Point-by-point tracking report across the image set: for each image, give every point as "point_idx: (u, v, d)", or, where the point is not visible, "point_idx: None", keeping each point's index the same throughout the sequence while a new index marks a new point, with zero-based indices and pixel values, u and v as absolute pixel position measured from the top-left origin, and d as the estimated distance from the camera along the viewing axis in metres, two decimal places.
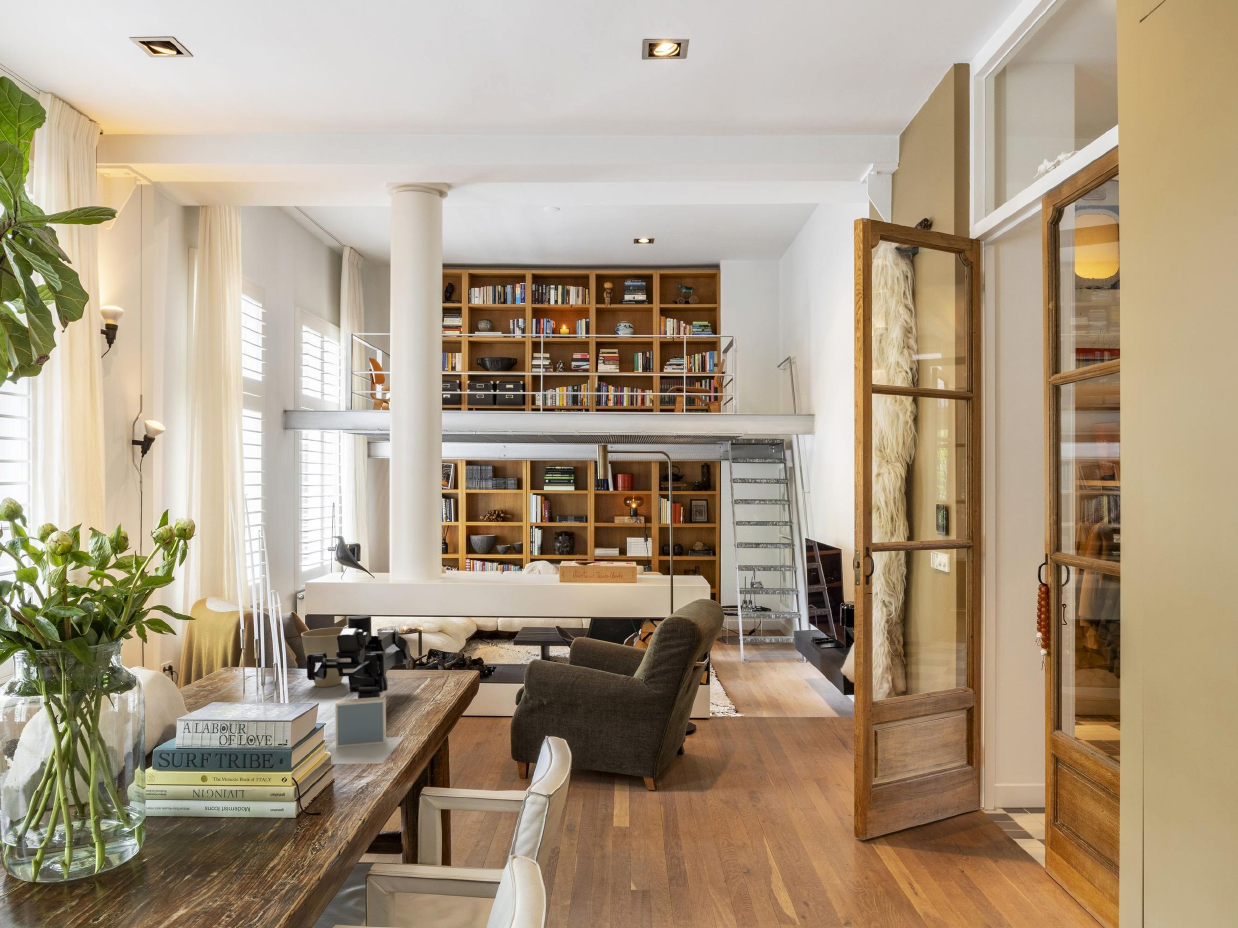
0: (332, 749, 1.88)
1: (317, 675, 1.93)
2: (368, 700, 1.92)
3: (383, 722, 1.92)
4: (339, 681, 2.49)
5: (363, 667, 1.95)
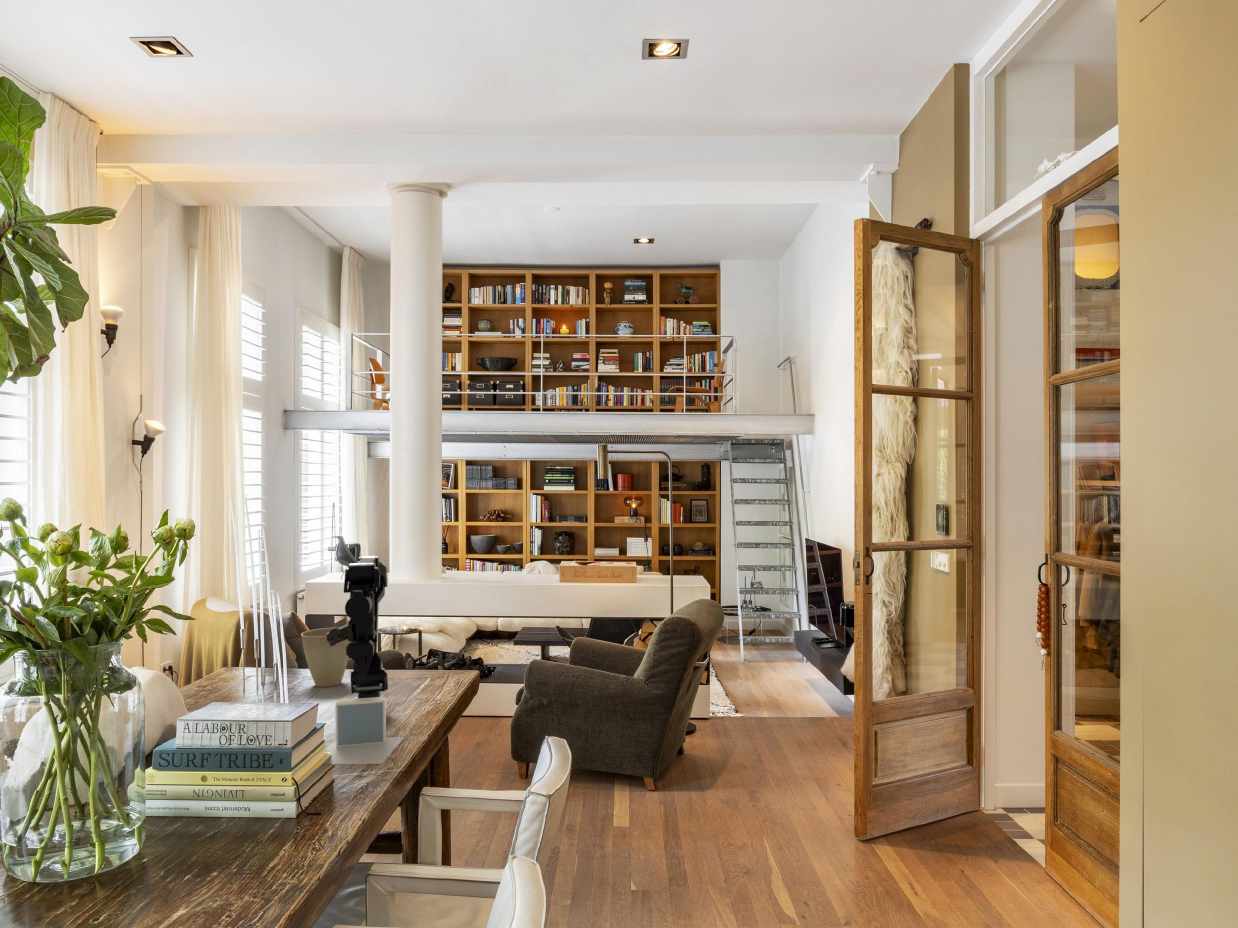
0: (332, 749, 1.88)
1: None
2: (368, 700, 1.92)
3: (383, 722, 1.92)
4: (339, 681, 2.49)
5: (358, 668, 1.98)
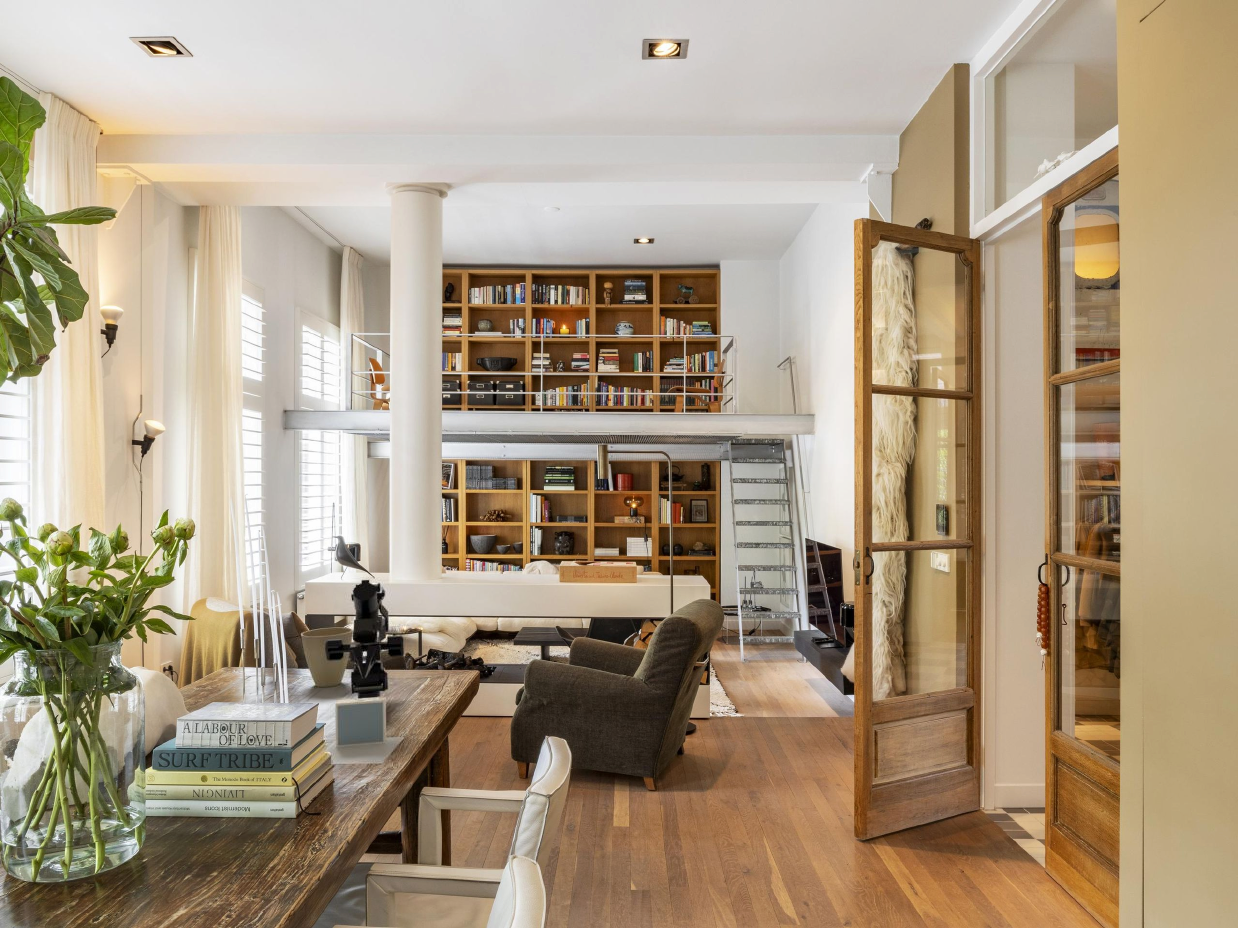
0: (332, 749, 1.88)
1: None
2: (368, 700, 1.92)
3: (383, 722, 1.92)
4: (339, 681, 2.49)
5: (369, 663, 2.03)
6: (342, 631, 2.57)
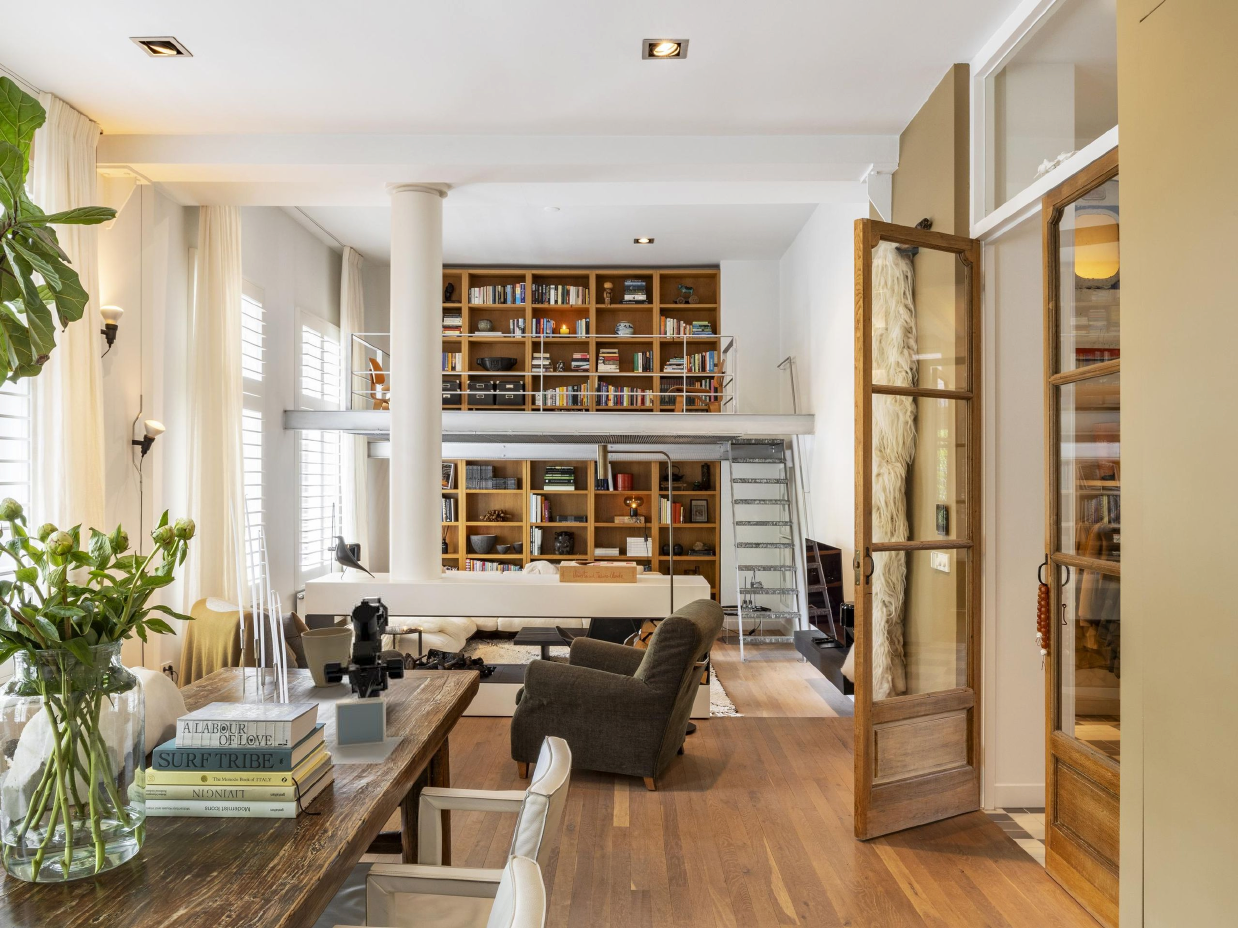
0: (332, 749, 1.88)
1: None
2: (368, 700, 1.92)
3: (383, 722, 1.92)
4: None
5: (369, 687, 2.00)
6: (342, 631, 2.57)
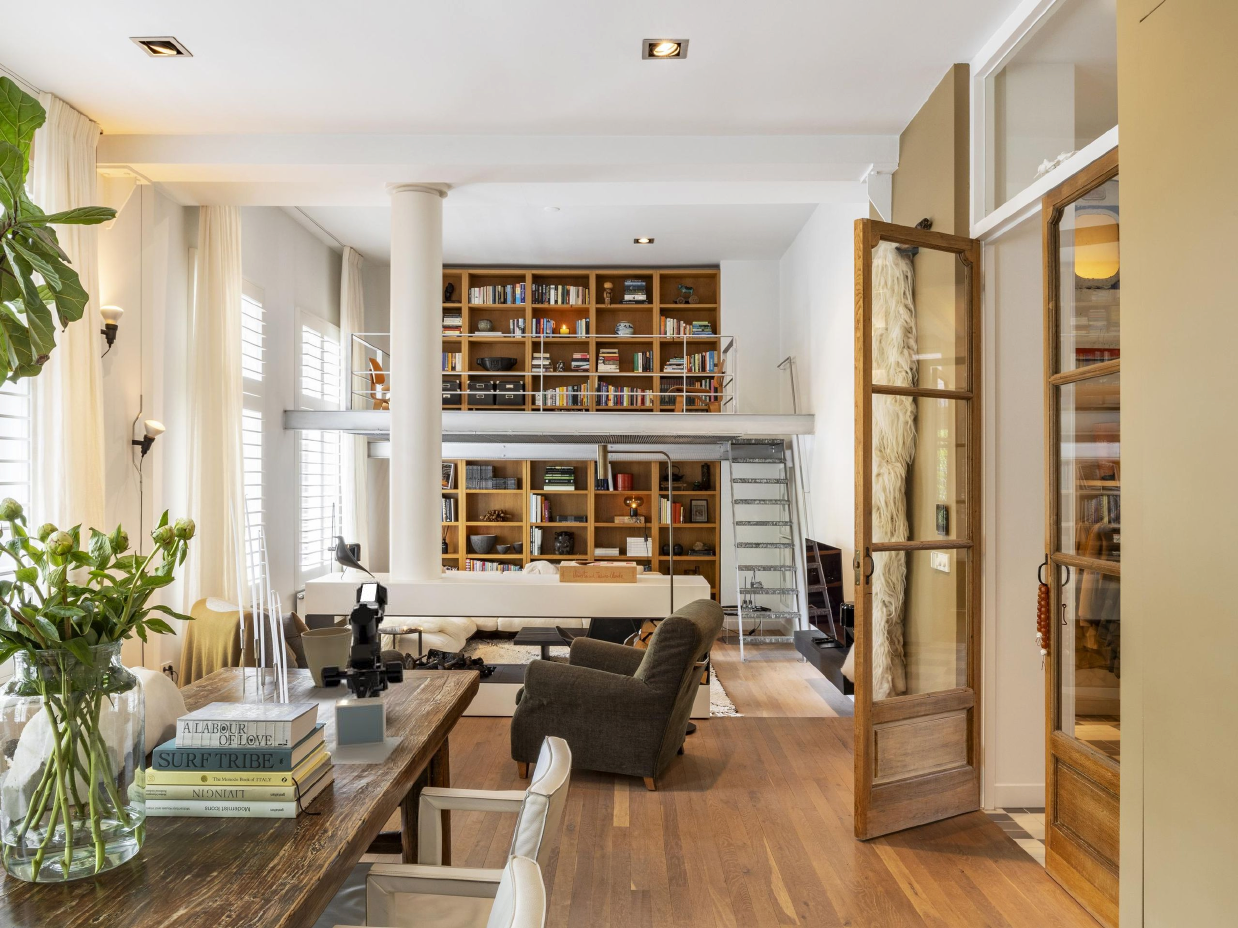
0: (332, 749, 1.88)
1: None
2: (368, 702, 1.91)
3: (383, 723, 1.91)
4: None
5: (367, 691, 1.95)
6: (342, 631, 2.57)
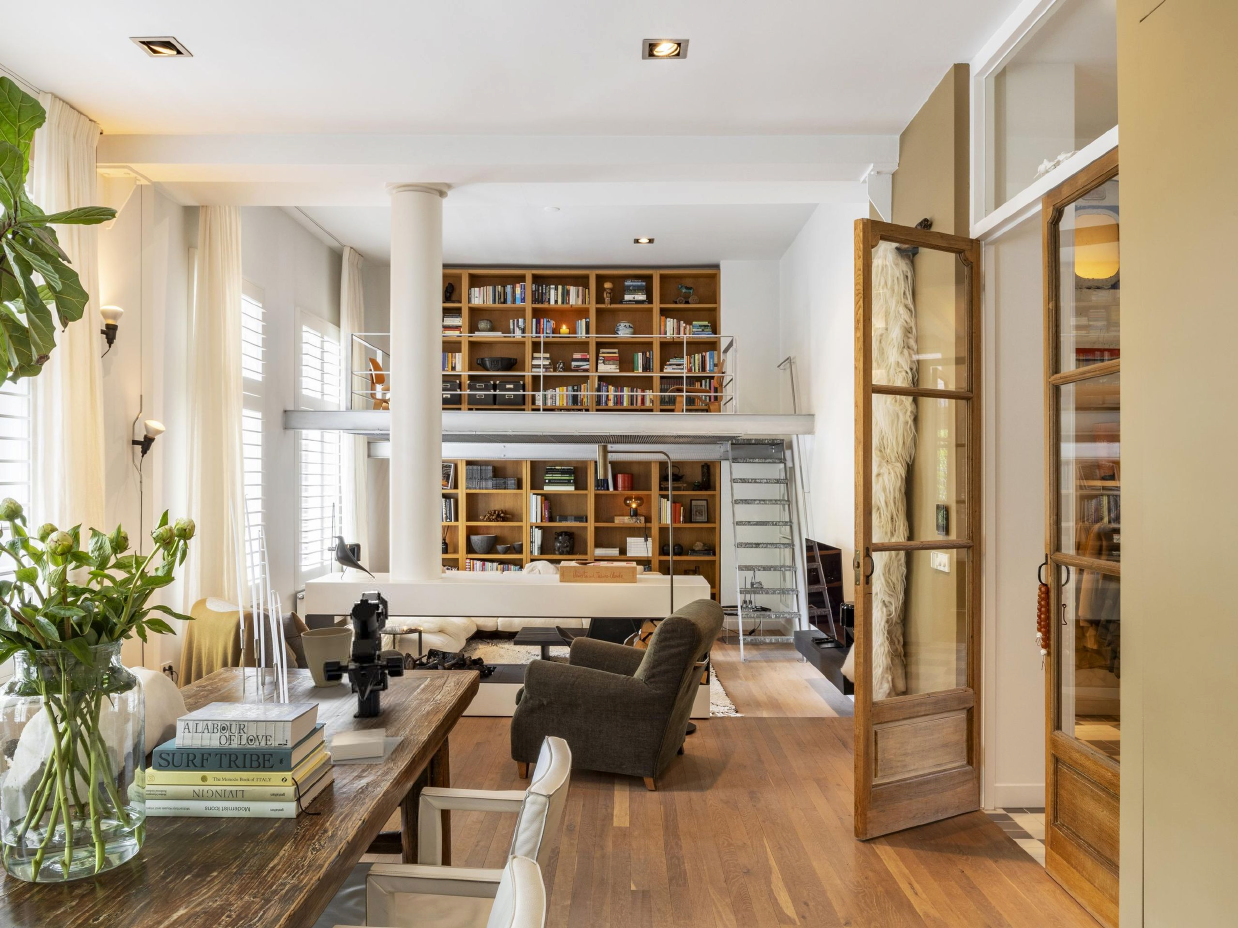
0: None
1: None
2: (365, 753, 1.81)
3: None
4: (339, 681, 2.49)
5: (368, 685, 1.99)
6: (342, 631, 2.57)
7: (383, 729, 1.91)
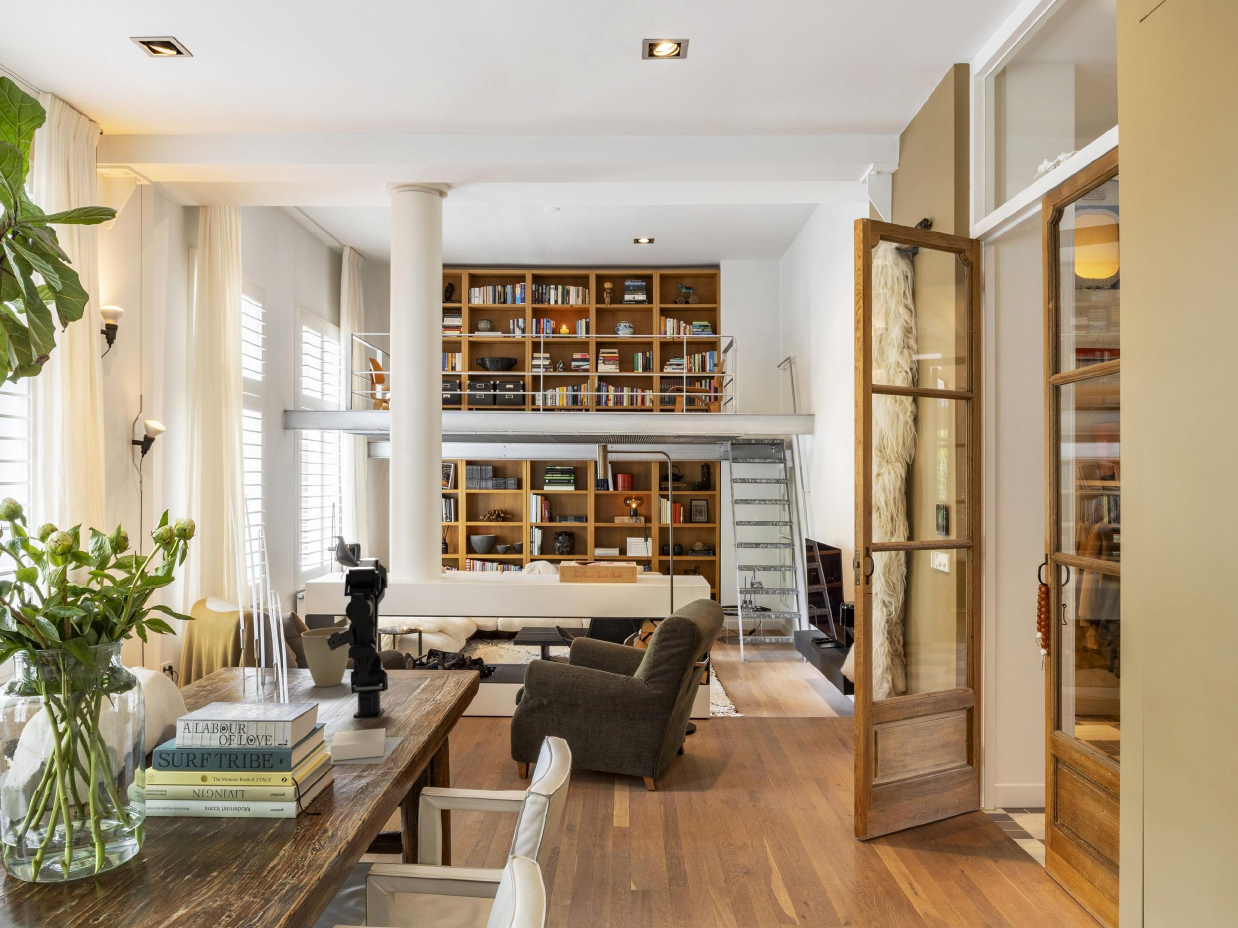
0: None
1: None
2: (365, 753, 1.81)
3: None
4: (339, 681, 2.49)
5: (360, 669, 2.02)
6: None
7: (383, 729, 1.91)
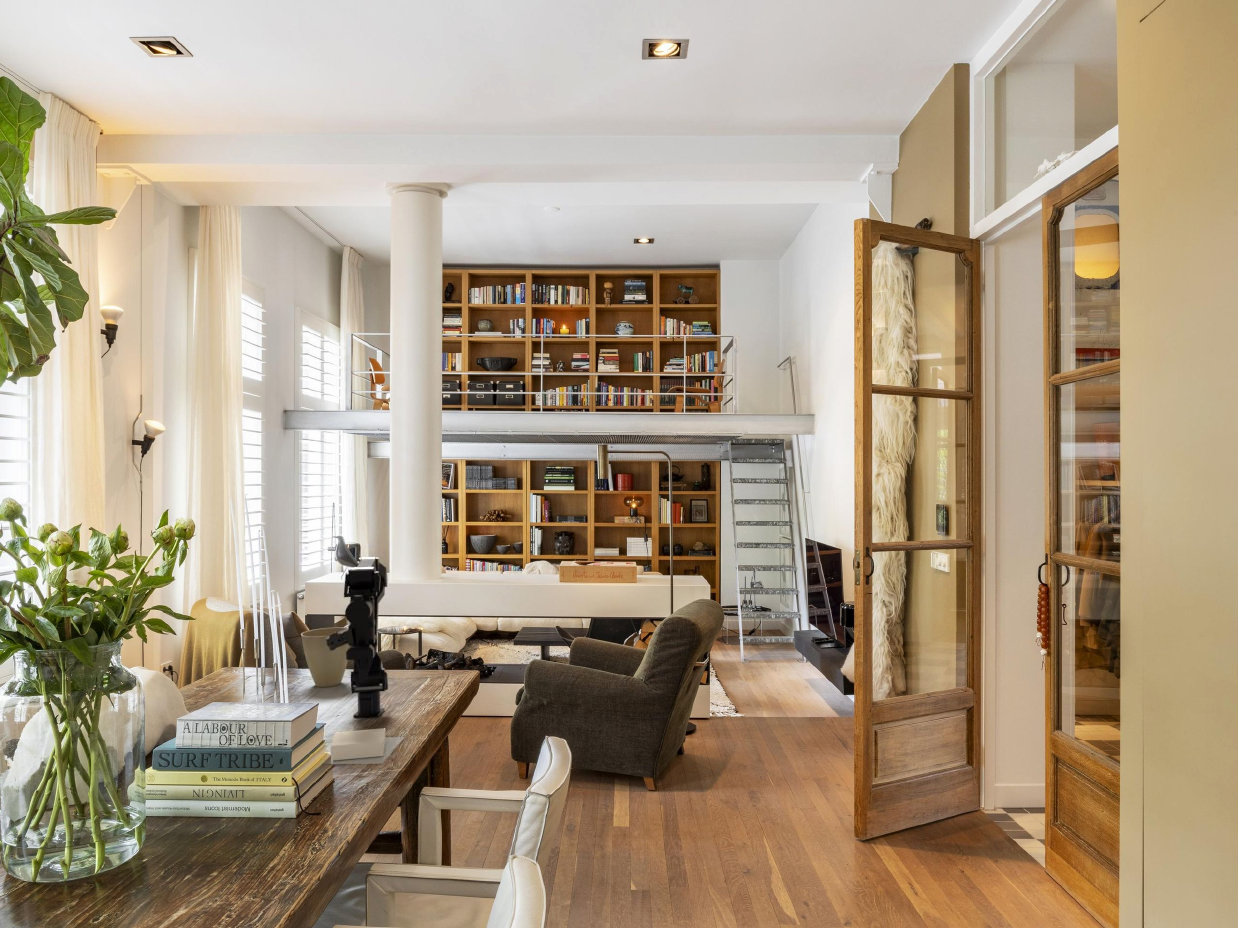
0: None
1: None
2: (365, 753, 1.81)
3: None
4: (339, 681, 2.49)
5: (359, 669, 2.02)
6: None
7: (383, 729, 1.91)
